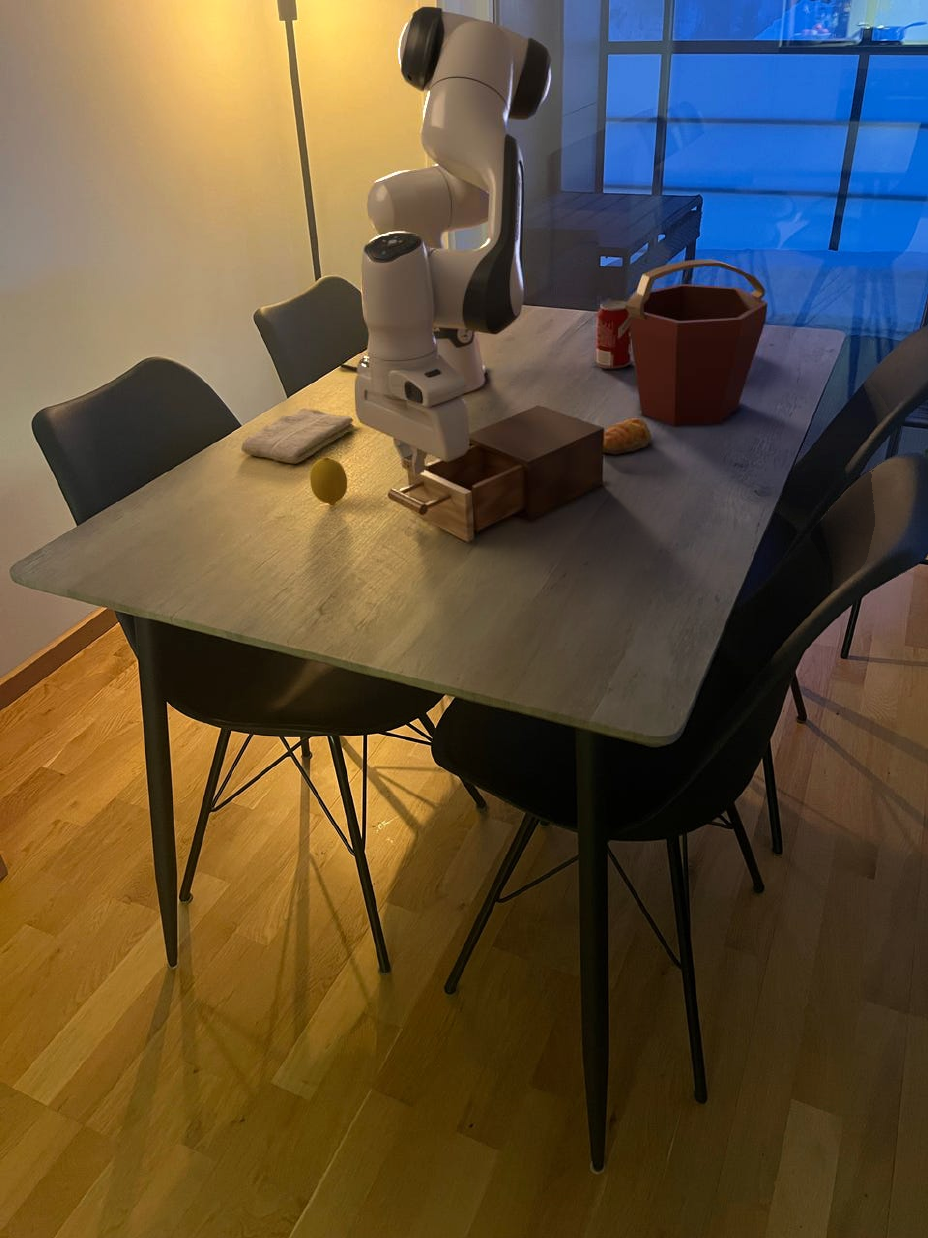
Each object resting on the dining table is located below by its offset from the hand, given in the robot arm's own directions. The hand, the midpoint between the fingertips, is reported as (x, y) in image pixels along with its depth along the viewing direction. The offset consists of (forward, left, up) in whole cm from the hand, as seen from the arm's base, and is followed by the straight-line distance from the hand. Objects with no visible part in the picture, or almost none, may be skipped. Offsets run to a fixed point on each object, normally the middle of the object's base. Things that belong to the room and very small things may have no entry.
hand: (413, 470), depth 128 cm
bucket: (-3, +64, -11) cm, 65 cm away
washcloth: (-43, +8, -11) cm, 45 cm away
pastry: (0, +44, -11) cm, 45 cm away
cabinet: (0, +23, -11) cm, 25 cm away
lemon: (-19, -2, -11) cm, 22 cm away
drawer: (0, +8, -10) cm, 13 cm away
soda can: (-27, +72, -11) cm, 77 cm away
